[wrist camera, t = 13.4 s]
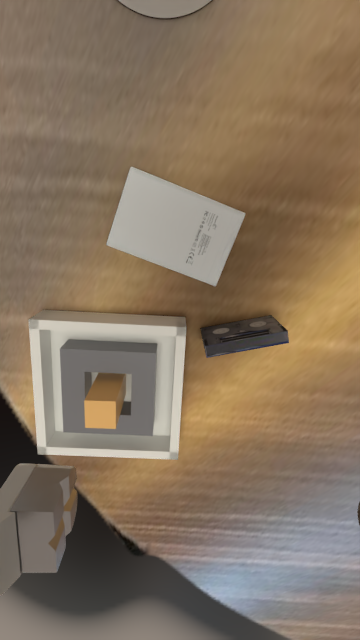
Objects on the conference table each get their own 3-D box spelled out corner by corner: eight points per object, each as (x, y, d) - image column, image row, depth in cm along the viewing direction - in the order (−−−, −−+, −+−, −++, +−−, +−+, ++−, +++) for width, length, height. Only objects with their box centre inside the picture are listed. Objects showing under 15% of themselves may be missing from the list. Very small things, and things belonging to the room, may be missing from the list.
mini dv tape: (202, 340, 39) (207, 360, 33) (200, 328, 39) (204, 346, 33) (272, 327, 39) (289, 345, 33) (271, 315, 38) (288, 331, 33)
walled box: (43, 309, 38) (28, 319, 34) (185, 317, 38) (186, 327, 34) (50, 433, 42) (37, 454, 38) (177, 438, 43) (177, 459, 39)
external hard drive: (132, 168, 34) (243, 213, 36) (108, 244, 36) (214, 284, 38) (130, 165, 33) (246, 213, 34) (105, 245, 35) (215, 287, 36)
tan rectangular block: (100, 369, 39) (84, 400, 32) (126, 370, 39) (115, 401, 32) (100, 393, 40) (85, 427, 33) (125, 394, 40) (115, 428, 33)
